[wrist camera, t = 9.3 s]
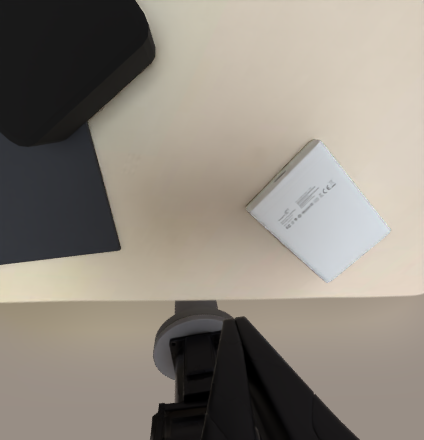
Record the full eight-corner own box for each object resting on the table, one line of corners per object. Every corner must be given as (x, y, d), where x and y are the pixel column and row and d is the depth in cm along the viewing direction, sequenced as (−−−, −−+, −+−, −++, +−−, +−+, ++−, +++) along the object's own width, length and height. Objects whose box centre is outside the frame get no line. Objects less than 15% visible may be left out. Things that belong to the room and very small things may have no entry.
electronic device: (156, 31, 12) (-44, -269, 8) (23, 154, 13) (-204, -50, 9) (161, 54, 16) (29, -141, 12) (58, 147, 17) (-92, 1, 13)
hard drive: (319, 275, 26) (244, 207, 21) (380, 223, 24) (312, 138, 19) (327, 284, 24) (249, 213, 20) (393, 230, 22) (323, 139, 18)
